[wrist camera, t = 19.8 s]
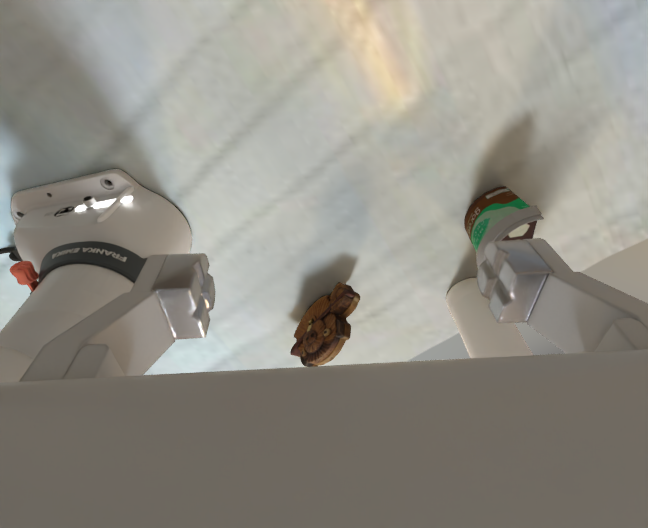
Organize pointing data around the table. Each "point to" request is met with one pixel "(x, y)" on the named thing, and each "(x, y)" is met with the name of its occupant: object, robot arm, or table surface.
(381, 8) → the table surface
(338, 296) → the wooden carving
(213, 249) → the table surface
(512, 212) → the food container
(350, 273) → the table surface
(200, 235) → the table surface
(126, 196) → the robot arm
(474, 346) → the bottle
